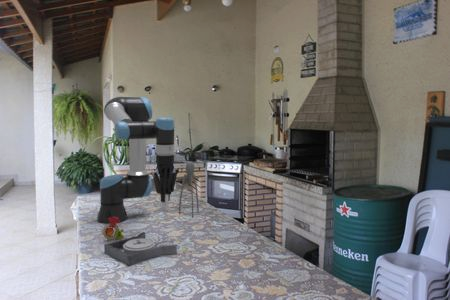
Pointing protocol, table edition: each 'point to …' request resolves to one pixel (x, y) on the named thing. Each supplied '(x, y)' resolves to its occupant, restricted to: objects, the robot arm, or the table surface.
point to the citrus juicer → (189, 176)
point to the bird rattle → (110, 231)
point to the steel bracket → (115, 252)
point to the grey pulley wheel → (138, 246)
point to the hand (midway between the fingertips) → (165, 208)
